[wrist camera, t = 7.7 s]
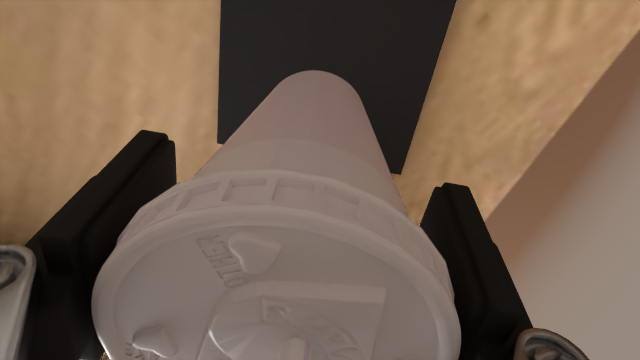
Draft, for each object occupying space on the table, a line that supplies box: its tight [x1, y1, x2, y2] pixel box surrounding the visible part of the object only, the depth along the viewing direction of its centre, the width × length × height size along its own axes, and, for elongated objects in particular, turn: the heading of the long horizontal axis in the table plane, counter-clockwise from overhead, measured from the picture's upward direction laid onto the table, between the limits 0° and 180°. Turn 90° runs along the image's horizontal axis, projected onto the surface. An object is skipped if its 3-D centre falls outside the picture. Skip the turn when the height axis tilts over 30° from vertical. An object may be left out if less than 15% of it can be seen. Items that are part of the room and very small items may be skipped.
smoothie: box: [91, 70, 461, 360], centre depth 9 cm, size 6×6×14 cm
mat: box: [217, 0, 456, 175], centre depth 26 cm, size 19×14×1 cm
